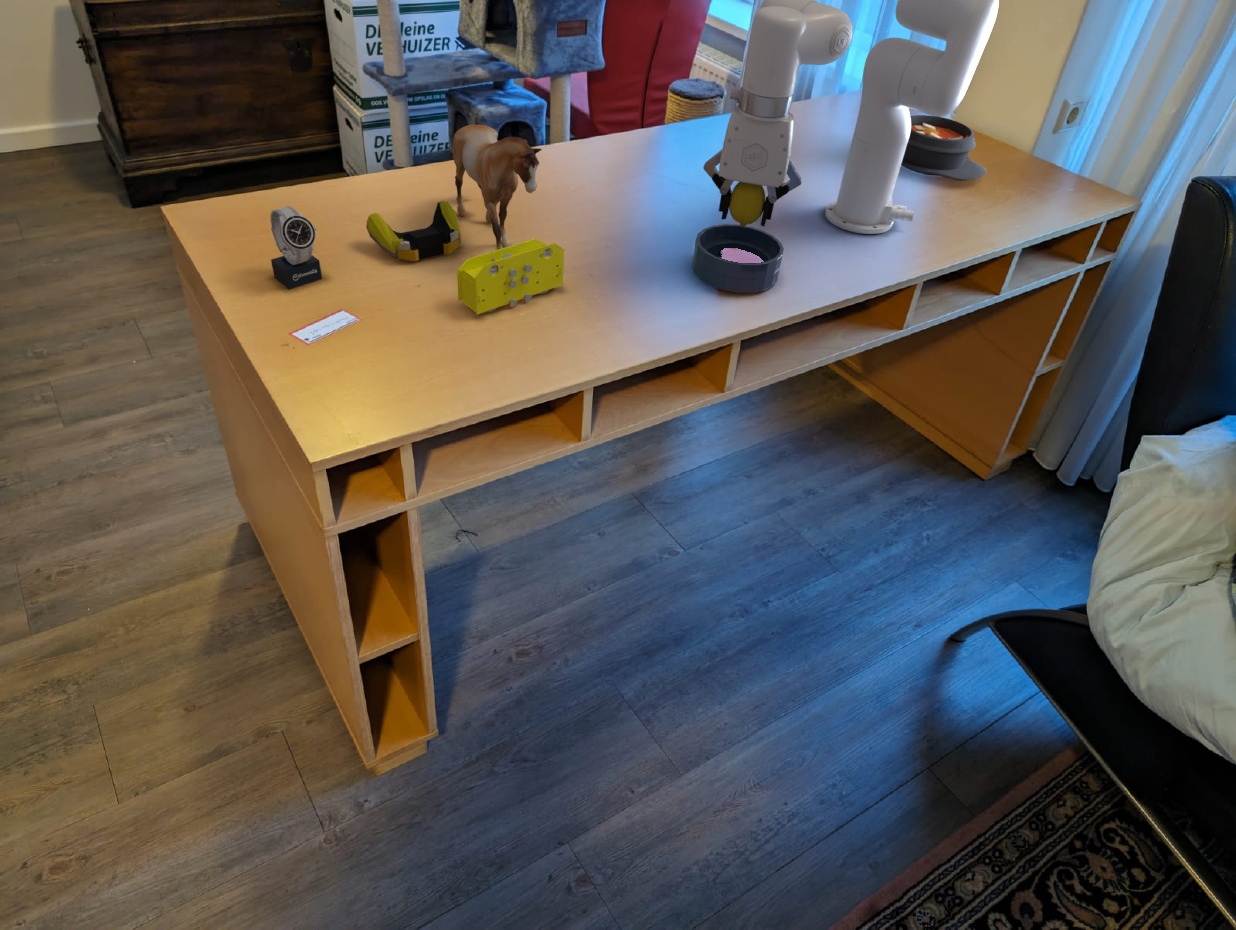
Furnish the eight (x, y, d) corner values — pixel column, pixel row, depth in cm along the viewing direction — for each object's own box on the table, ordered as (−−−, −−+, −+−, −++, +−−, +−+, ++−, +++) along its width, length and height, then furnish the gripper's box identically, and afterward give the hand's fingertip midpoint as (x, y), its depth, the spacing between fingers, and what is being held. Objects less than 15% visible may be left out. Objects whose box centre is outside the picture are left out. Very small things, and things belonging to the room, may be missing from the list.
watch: (295, 295, 130) (282, 225, 123) (268, 273, 134) (255, 205, 127) (329, 283, 133) (318, 215, 126) (302, 263, 137) (290, 196, 130)
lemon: (748, 237, 137) (758, 188, 132) (718, 226, 139) (727, 177, 134) (766, 226, 140) (776, 178, 135) (737, 215, 143) (745, 167, 138)
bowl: (780, 262, 150) (786, 232, 146) (772, 302, 139) (779, 271, 136) (698, 248, 152) (703, 218, 148) (685, 286, 141) (689, 255, 137)
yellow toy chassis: (478, 320, 128) (477, 269, 123) (457, 304, 131) (454, 253, 126) (564, 290, 137) (566, 241, 132) (542, 275, 140) (543, 227, 135)
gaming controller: (365, 243, 144) (388, 270, 138) (361, 211, 140) (384, 237, 134) (450, 226, 150) (475, 252, 144) (448, 196, 147) (474, 220, 141)
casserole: (999, 176, 188) (1013, 137, 182) (954, 196, 178) (967, 155, 172) (901, 139, 201) (911, 101, 196) (853, 155, 191) (863, 116, 185)
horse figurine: (541, 275, 140) (543, 147, 127) (494, 282, 137) (492, 152, 124) (484, 195, 161) (481, 79, 148) (443, 199, 158) (436, 81, 145)
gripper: (703, 101, 126) (687, 220, 137) (823, 120, 123) (796, 239, 135) (710, 86, 131) (694, 201, 143) (825, 104, 129) (799, 219, 141)
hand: (744, 218), depth 139 cm, fingers closed on lemon, 5 cm apart
